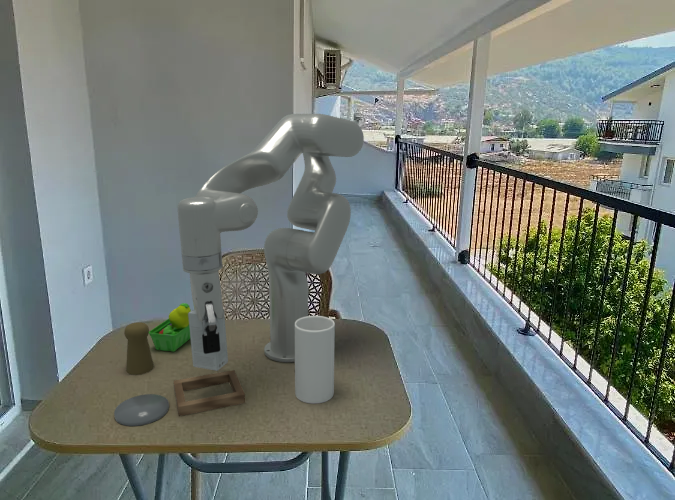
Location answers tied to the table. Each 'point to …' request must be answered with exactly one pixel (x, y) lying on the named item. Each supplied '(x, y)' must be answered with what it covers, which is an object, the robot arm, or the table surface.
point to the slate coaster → (141, 410)
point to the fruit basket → (172, 330)
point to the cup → (314, 359)
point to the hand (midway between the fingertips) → (209, 343)
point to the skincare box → (196, 331)
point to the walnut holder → (209, 402)
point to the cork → (138, 349)
